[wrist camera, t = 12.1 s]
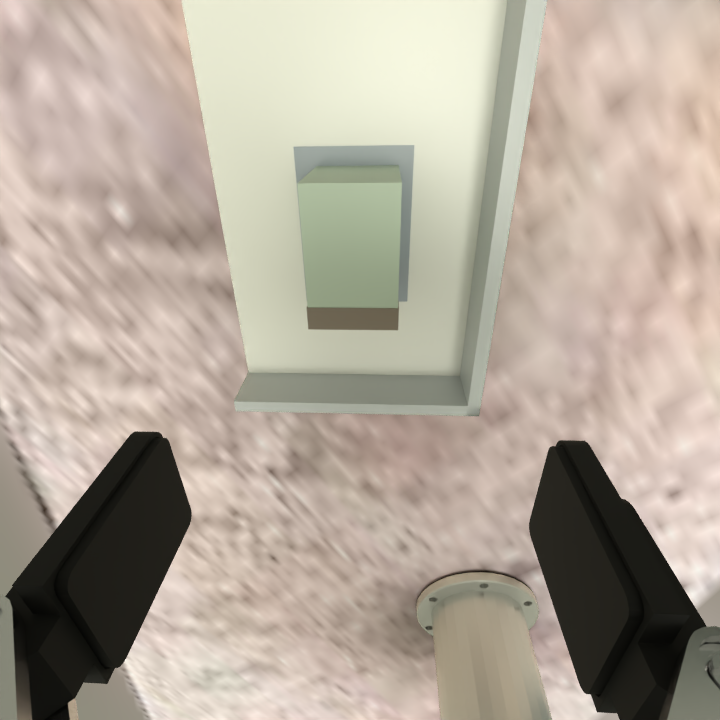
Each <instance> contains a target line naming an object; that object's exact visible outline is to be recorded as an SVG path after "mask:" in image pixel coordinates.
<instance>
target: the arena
mask: <svg viewBox="0 0 720 720" xmlns="http://www.w3.org/2000/svg"><path fill="white" fill-rule="evenodd" d="M546 4H547V0H182V6H183V12H184V17H185V23H186V28H187V34H188V39H189V45H190V51H191V56H192V62H193V67H194V73H195V78H196V84H197V89H198V95H199V101H200V106H201V112H202V117H203V123H204V128H205V134H206V139H207V145H208V151H209V156H210V162H211V167H212V173H213V178H214V184H215V189H216V195H217V201H218V206H219V212H220V217H221V223H222V228H223V234H224V239H225V245H226V251H227V256H228V262H229V267H230V273H231V278H232V284H233V290H234V295H235V301H236V306H237V312H238V317H239V323H240V328H241V334H242V340H243V345H244V351H245V356H246V362H247V367H248V374H247V376H246V378H245V380H244V382H243V384H242V386H241V388H240V390H239V392H238V394H237V396H236V398H235V400H234V405H235V410H236V411H252V412H300V413H348V414H396V415H444V416H479V413H480V407H481V401H482V395H483V388H484V382H485V376H486V370H487V364H488V358H489V352H490V346H491V340H492V334H493V327H494V321H495V315H496V309H497V303H498V297H499V291H500V285H501V279H502V273H503V267H504V260H505V254H506V248H507V242H508V236H509V230H510V224H511V218H512V212H513V206H514V199H515V193H516V187H517V181H518V175H519V169H520V163H521V157H522V151H523V145H524V138H525V132H526V126H527V120H528V114H529V108H530V102H531V96H532V90H533V84H534V77H535V71H536V65H537V59H538V53H539V47H540V41H541V35H542V29H543V23H544V16H545V10H546ZM374 165H399V170H400V175H401V180H402V198H401V229H400V259H399V290H398V301H399V322H398V330H314V329H308V320H307V294H306V282H305V270H304V258H303V247H302V235H301V223H300V211H299V199H298V187H297V183H298V182H299V181H301V180H302V179H303V178H304V177H305V176H306V175H307V174H308V173H309V172H311V171H312V170H313V169H314V168H315V167H316V166H374Z"/></svg>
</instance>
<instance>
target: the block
mask: <svg viewBox="0 0 720 720" xmlns="http://www.w3.org/2000/svg"><path fill="white" fill-rule="evenodd" d="M297 187H298V199H299V211H300V223H301V235H302V247H303V258H304V270H305V282H306V294H307V320H308V329H314V330H398V322H399V301H398V290H399V259H400V229H401V198H402V180H401V175H400V170H399V165H374V166H316V167H315V168H314V169H313V170H312V171H311V172H309V173H308V174H307V175H306V176H305V177H304V178H303V179H302V180H301V181H299V182H298V183H297Z"/></svg>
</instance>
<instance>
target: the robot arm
mask: <svg viewBox="0 0 720 720" xmlns="http://www.w3.org/2000/svg"><path fill="white" fill-rule="evenodd" d="M190 522H191V508H190V505H189V502H188V499H187V496H186V493H185V490H184V487H183V483H182V480H181V477H180V474H179V471H178V468H177V465H176V462H175V459H174V456H173V453H172V450H171V446H170V443H169V441H168V439H166V438H163V437H162V435H161V434H160V433H159V432H134V433H132V434H131V435H130V436H129V437H128V439H127V440H126V441H125V442H124V444H123V445H122V446H121V448H120V449H119V450H118V451H117V453H116V454H115V455H114V456H113V458H112V459H111V460H110V462H109V463H108V464H107V465H106V467H105V468H104V469H103V470H102V472H101V473H100V474H99V476H98V477H97V478H96V479H95V481H94V482H93V483H92V484H91V486H90V487H89V488H88V490H87V491H86V492H85V493H84V495H83V496H82V497H81V498H80V500H79V501H78V502H77V503H76V505H75V506H74V507H73V509H72V510H71V511H70V512H69V514H68V515H67V516H66V517H65V519H64V520H63V521H62V523H61V524H60V525H59V526H58V528H57V529H56V530H55V531H54V533H53V534H52V535H51V537H50V538H49V539H48V540H47V542H46V543H45V544H44V546H43V547H42V548H41V549H40V551H39V552H38V553H37V554H36V556H35V557H34V558H33V559H32V561H31V562H30V563H29V564H28V566H27V567H26V568H25V570H24V571H23V572H22V573H21V575H20V576H19V577H18V578H17V580H16V581H15V582H14V584H13V585H12V586H13V587H12V589H11V590H10V591H9V592H8V594H7V595H6V596H3V595H0V720H79V719H78V712H77V706H76V699H75V697H76V695H77V693H78V691H79V689H80V688H81V686H82V684H83V682H85V683H103V684H107V683H108V681H109V679H110V677H111V675H112V673H113V671H114V669H115V668H118V667H120V666H121V665H122V664H123V662H124V661H125V659H126V657H127V655H128V653H129V651H130V649H131V647H132V645H133V643H134V640H135V638H136V636H137V634H138V632H139V630H140V628H141V626H142V624H143V622H144V619H145V617H146V615H147V613H148V611H149V609H150V607H151V605H152V603H153V601H154V598H155V596H156V594H157V592H158V590H159V588H160V586H161V584H162V582H163V580H164V577H165V575H166V573H167V571H168V569H169V567H170V565H171V563H172V561H173V559H174V556H175V554H176V552H177V550H178V548H179V546H180V544H181V542H182V540H183V538H184V535H185V533H186V531H187V529H188V527H189V525H190ZM529 530H530V536H531V539H532V542H533V545H534V548H535V551H536V554H537V557H538V560H539V563H540V566H541V569H542V572H543V575H544V578H545V581H546V584H547V587H548V590H549V593H550V596H551V599H552V602H553V605H554V609H555V612H556V615H557V618H558V621H559V624H560V627H561V630H562V633H563V636H564V639H565V642H566V645H567V648H568V651H569V654H570V657H571V660H572V663H573V666H574V669H575V672H576V675H577V678H578V681H579V684H580V686H581V688H582V690H583V691H584V692H585V693H586V694H591V696H592V699H593V701H594V704H595V707H596V710H597V712H604V713H617V714H618V716H619V719H620V720H720V627H717V626H713V627H712V626H711V627H707V626H706V625H705V623H704V621H703V620H702V618H701V616H700V615H699V613H698V612H697V610H696V608H695V607H694V605H693V603H692V602H691V600H690V598H689V597H688V595H687V594H686V592H685V590H684V589H683V587H682V585H681V584H680V582H679V581H678V579H677V577H676V576H675V574H674V572H673V571H672V569H671V567H670V566H669V564H668V563H667V561H666V559H665V558H664V556H663V554H662V553H661V551H660V550H659V548H658V546H657V545H656V543H655V541H654V540H653V538H652V536H651V535H650V533H649V532H648V530H647V528H646V527H645V525H644V523H643V522H642V520H641V519H640V517H639V515H638V514H637V512H636V510H635V509H634V508H633V506H632V505H631V504H630V503H629V502H628V501H626V500H625V499H621V498H620V496H619V494H618V492H617V491H616V489H615V487H614V486H613V484H612V482H611V481H610V479H609V477H608V476H607V474H606V472H605V471H604V469H603V467H602V466H601V464H600V462H599V461H598V459H597V457H596V455H595V454H594V452H593V450H592V449H591V447H590V445H589V444H588V443H587V442H585V441H563V440H561V441H558V443H557V445H556V447H555V446H552V447H550V448H549V451H548V454H547V458H546V462H545V465H544V469H543V473H542V477H541V480H540V484H539V488H538V492H537V495H536V499H535V503H534V507H533V510H532V514H531V518H530V523H529ZM416 614H417V619H418V622H419V624H420V625H421V627H422V628H423V629H424V630H425V631H426V632H427V633H428V634H430V635H432V636H433V639H434V650H435V662H436V673H437V685H438V696H439V708H440V719H441V720H552V717H551V713H550V710H549V706H548V702H547V698H546V695H545V691H544V687H543V684H542V680H541V676H540V672H539V669H538V665H537V661H536V657H535V654H534V650H533V646H532V642H531V639H530V635H529V631H528V630H529V629H530V628H531V627H532V626H533V625H534V624H535V622H536V620H537V618H538V614H539V609H538V604H537V601H536V598H535V596H534V594H533V592H532V591H531V590H530V589H529V588H528V587H527V586H526V585H524V584H523V583H521V582H519V581H517V580H515V579H514V578H511V577H508V576H505V575H500V574H495V573H486V572H470V573H462V574H456V575H452V576H449V577H445V578H443V579H441V580H439V581H436V582H435V583H433V584H431V585H430V586H428V587H427V588H426V589H425V590H424V591H423V592H422V593H421V595H420V596H419V598H418V600H417V604H416Z"/></svg>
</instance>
